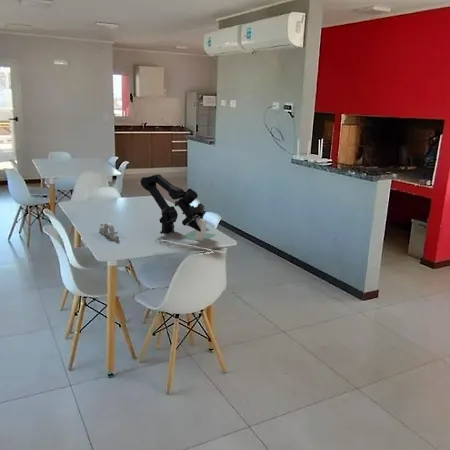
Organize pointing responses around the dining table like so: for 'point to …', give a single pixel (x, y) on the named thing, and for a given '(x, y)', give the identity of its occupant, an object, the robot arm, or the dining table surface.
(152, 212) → the dining table surface
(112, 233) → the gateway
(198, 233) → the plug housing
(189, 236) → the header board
